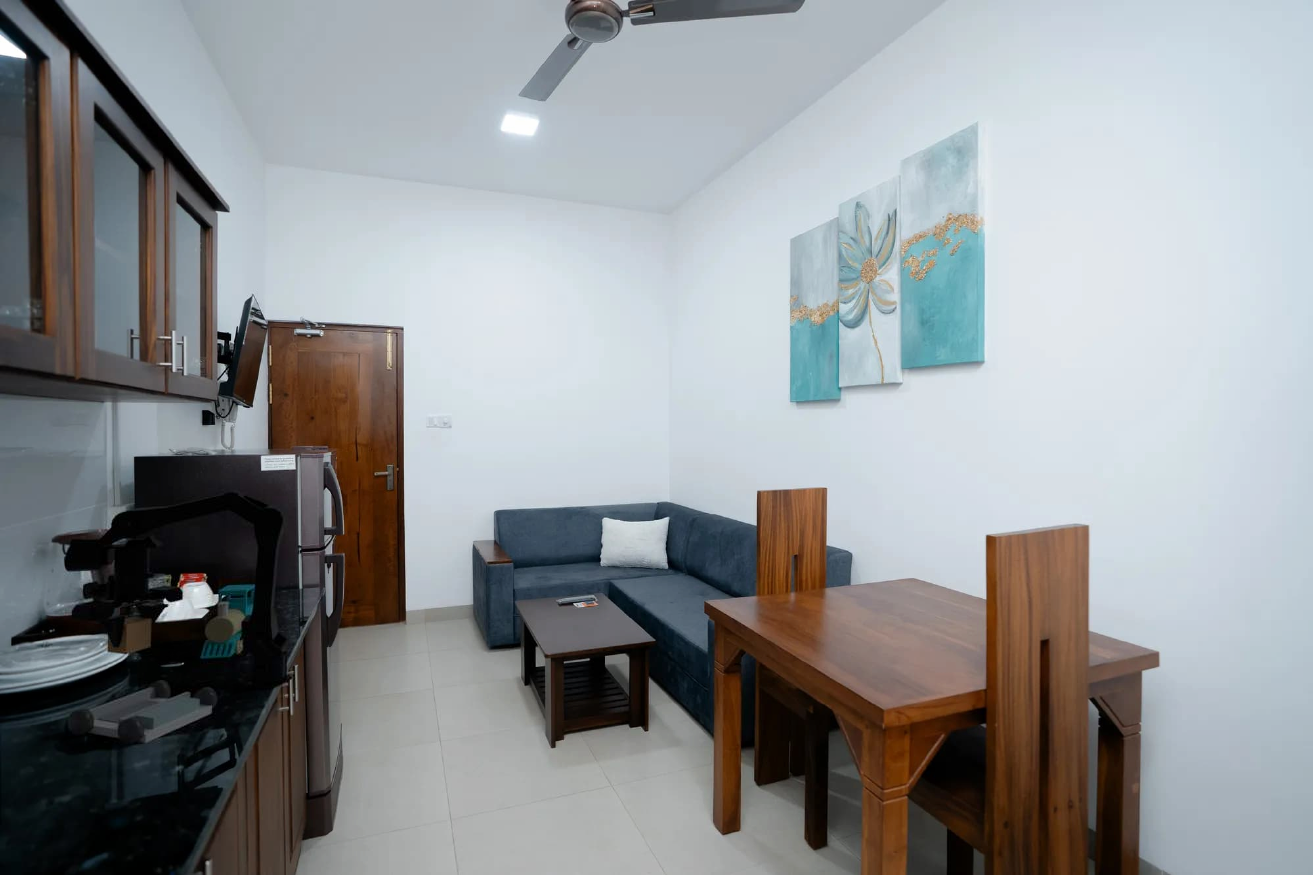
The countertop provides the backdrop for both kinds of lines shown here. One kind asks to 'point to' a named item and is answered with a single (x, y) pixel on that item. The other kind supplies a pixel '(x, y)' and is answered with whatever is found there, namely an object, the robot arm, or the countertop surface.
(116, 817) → the countertop surface
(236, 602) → the toy train
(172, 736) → the countertop surface
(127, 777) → the countertop surface
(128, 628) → the brown cardboard cube
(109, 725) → the chassis
